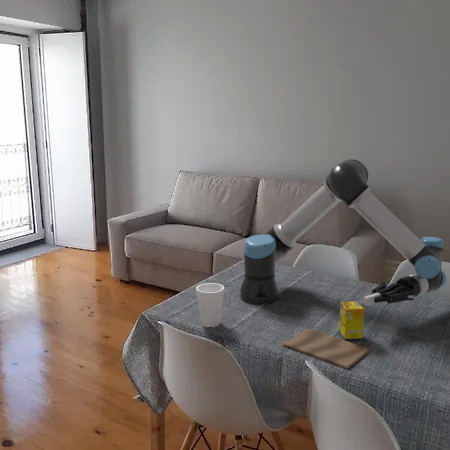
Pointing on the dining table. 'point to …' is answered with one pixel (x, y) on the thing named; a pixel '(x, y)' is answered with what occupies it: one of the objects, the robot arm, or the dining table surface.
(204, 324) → the foam cup
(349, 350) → the brown flat board
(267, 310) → the dining table surface
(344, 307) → the supplement box
